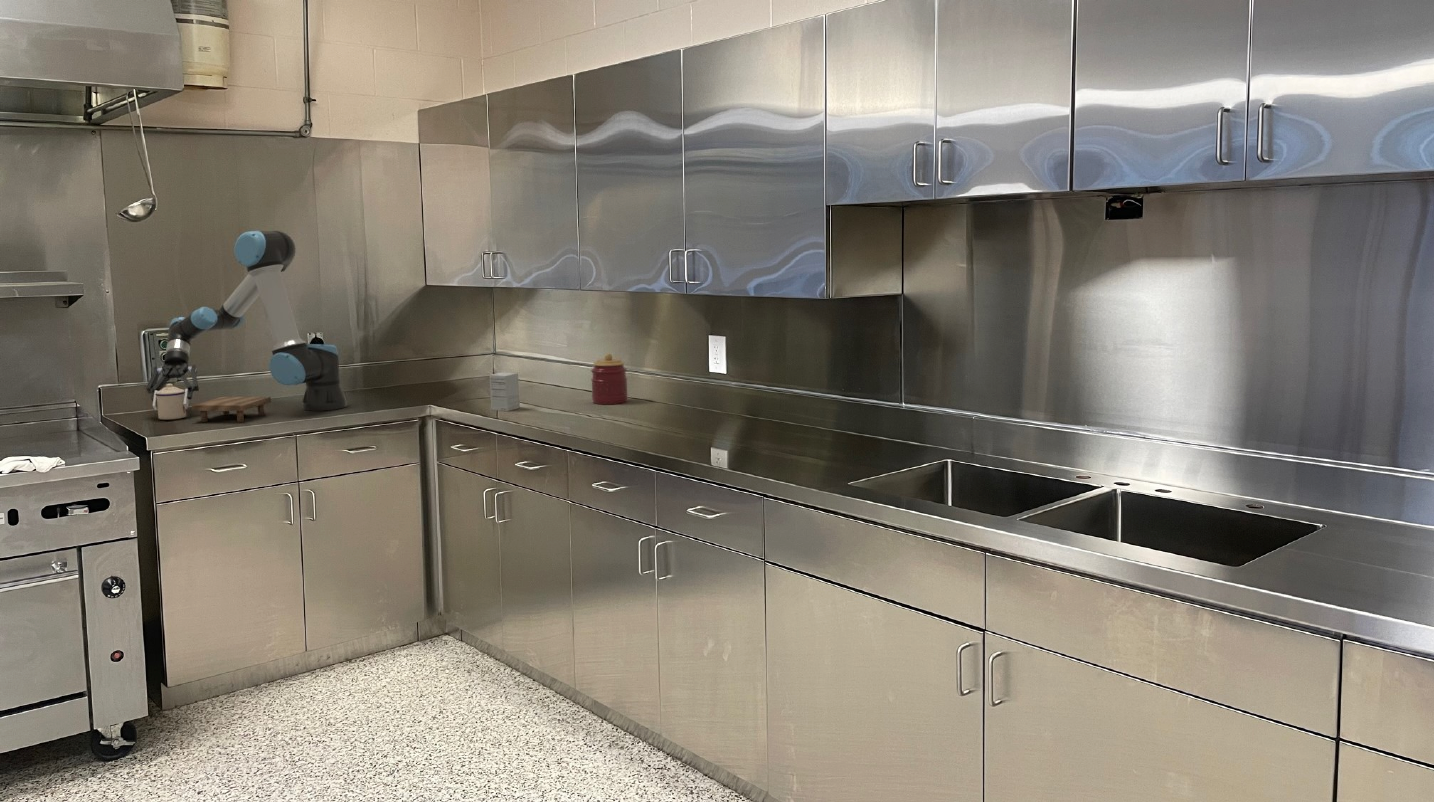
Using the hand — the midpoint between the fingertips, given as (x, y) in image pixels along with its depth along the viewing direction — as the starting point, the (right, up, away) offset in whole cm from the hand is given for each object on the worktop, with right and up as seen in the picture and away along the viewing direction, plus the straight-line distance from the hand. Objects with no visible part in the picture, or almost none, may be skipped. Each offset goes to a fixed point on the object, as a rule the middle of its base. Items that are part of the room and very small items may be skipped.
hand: (170, 407), depth 364 cm
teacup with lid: (-1, -4, +4) cm, 5 cm away
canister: (+148, +1, +22) cm, 150 cm away
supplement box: (+113, -1, +10) cm, 113 cm away
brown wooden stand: (+21, -4, +1) cm, 22 cm away
